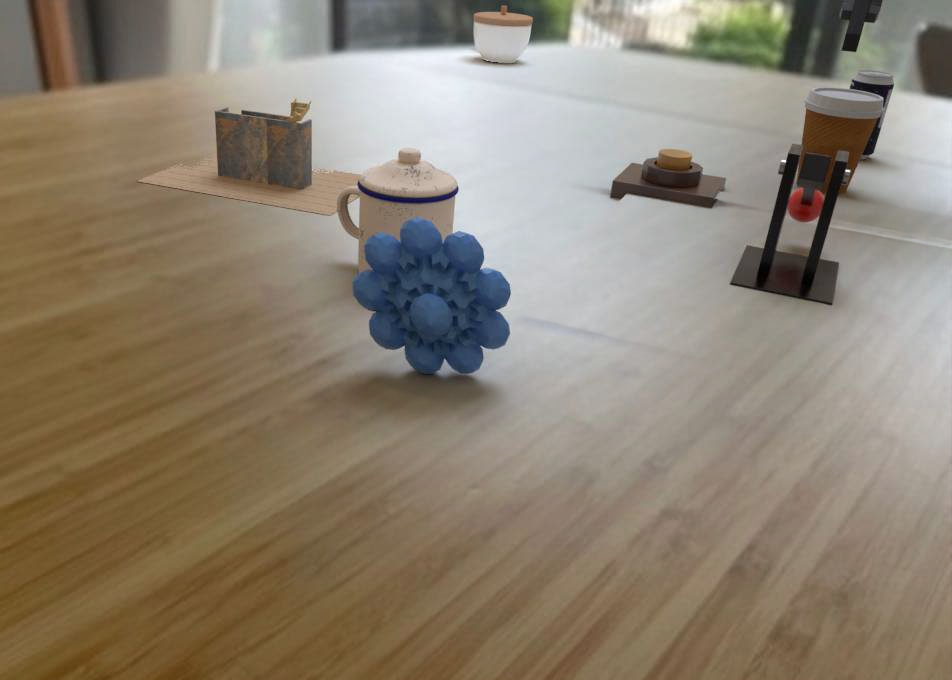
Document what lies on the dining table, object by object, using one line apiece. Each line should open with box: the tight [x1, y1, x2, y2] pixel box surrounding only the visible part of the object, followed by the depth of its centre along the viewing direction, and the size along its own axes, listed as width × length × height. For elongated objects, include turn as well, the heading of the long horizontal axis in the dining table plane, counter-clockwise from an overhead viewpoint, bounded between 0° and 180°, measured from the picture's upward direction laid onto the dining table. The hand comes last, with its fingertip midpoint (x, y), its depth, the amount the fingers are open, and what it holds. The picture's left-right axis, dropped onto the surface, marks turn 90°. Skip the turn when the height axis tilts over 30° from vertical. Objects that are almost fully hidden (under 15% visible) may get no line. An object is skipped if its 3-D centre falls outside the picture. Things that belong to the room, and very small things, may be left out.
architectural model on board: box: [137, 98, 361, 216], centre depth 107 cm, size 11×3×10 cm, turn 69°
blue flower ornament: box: [352, 217, 512, 375], centre depth 64 cm, size 12×7×12 cm, turn 86°
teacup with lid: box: [336, 147, 460, 273], centre depth 83 cm, size 12×9×12 cm
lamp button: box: [656, 148, 693, 170], centre depth 110 cm, size 4×4×2 cm
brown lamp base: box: [609, 156, 727, 209], centre depth 111 cm, size 12×10×4 cm
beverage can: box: [849, 69, 895, 160], centre depth 134 cm, size 6×6×12 cm
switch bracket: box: [729, 143, 851, 306], centre depth 85 cm, size 12×9×13 cm
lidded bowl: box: [472, 5, 534, 64], centre depth 194 cm, size 13×13×11 cm
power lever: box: [787, 153, 831, 223], centre depth 88 cm, size 14×4×4 cm, turn 155°
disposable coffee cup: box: [795, 86, 885, 194], centre depth 117 cm, size 10×10×12 cm
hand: (851, 42), depth 95 cm, fingers closed
